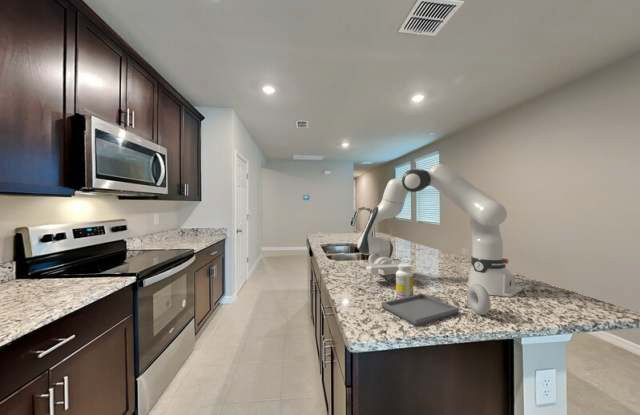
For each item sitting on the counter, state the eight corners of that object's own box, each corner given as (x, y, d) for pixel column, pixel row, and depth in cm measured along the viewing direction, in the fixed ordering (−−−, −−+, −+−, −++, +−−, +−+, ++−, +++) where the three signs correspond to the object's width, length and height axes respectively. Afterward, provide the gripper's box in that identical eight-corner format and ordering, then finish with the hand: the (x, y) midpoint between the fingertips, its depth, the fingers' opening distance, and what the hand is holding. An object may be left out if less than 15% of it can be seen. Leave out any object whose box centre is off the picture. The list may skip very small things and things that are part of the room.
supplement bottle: (410, 293, 106) (409, 263, 106) (415, 299, 100) (415, 267, 100) (394, 293, 106) (393, 263, 106) (398, 299, 100) (398, 267, 100)
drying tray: (421, 298, 100) (421, 293, 100) (458, 313, 86) (458, 307, 86) (381, 307, 92) (381, 302, 92) (415, 326, 77) (415, 319, 77)
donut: (493, 320, 81) (493, 289, 81) (482, 320, 81) (482, 289, 81) (474, 307, 91) (474, 280, 91) (465, 307, 91) (464, 280, 91)
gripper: (364, 260, 126) (372, 266, 112) (403, 259, 128) (416, 265, 114) (364, 273, 126) (372, 281, 112) (403, 271, 128) (416, 279, 114)
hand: (394, 273), depth 113 cm, fingers open, 8 cm apart
